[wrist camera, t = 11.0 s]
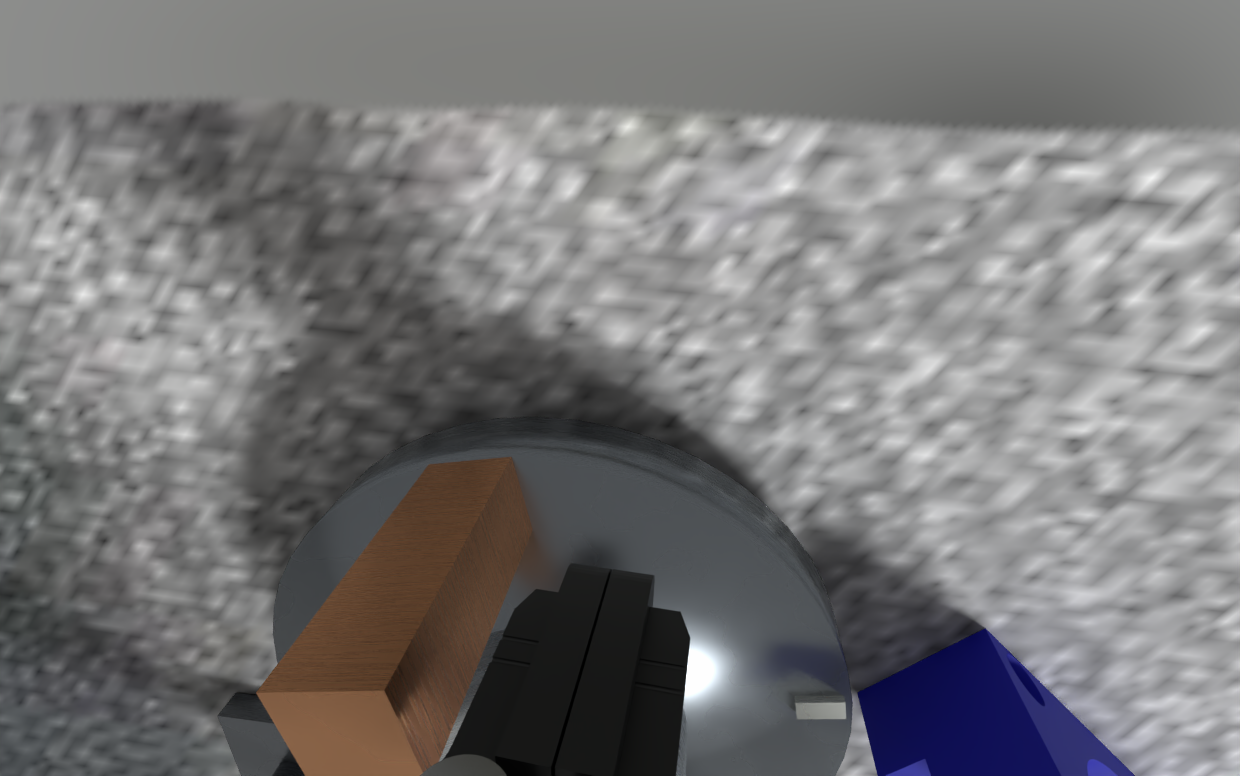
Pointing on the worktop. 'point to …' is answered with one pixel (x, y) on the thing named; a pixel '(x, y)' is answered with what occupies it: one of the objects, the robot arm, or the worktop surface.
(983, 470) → the worktop surface
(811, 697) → the grey pot lid
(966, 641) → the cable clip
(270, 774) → the grey stand with block
